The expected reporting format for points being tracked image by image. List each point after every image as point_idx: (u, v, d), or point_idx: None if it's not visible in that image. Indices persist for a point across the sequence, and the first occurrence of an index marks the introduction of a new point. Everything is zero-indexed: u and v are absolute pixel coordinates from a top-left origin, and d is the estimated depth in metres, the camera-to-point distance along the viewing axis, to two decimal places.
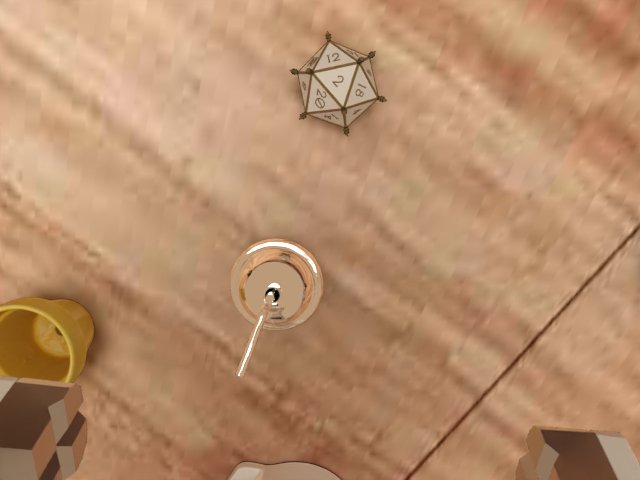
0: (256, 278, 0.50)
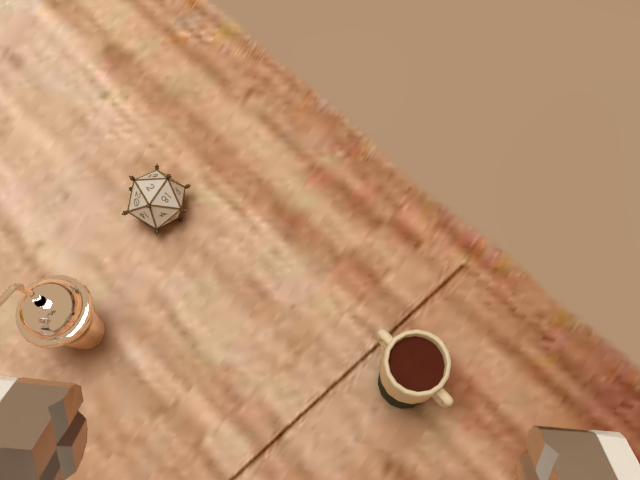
0: (33, 288, 0.65)
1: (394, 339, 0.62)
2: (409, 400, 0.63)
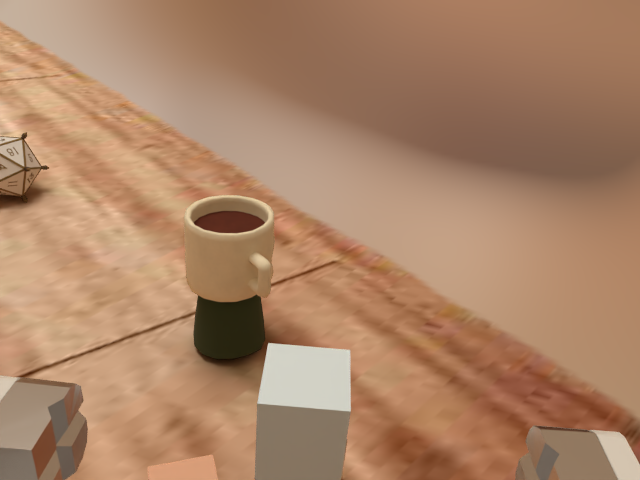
0: None
1: (207, 198, 0.49)
2: (213, 272, 0.45)
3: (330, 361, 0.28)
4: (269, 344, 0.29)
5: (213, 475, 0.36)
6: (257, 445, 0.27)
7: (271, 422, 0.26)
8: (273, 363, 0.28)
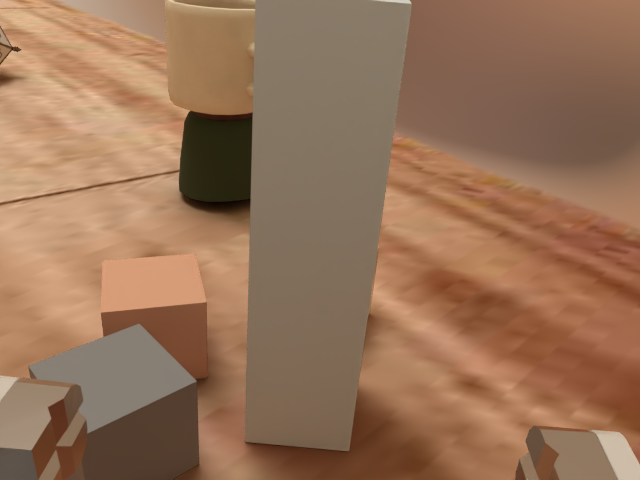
0: None
1: None
2: (201, 67, 0.35)
3: None
4: None
5: (194, 271, 0.26)
6: (255, 91, 0.16)
7: (279, 36, 0.16)
8: None
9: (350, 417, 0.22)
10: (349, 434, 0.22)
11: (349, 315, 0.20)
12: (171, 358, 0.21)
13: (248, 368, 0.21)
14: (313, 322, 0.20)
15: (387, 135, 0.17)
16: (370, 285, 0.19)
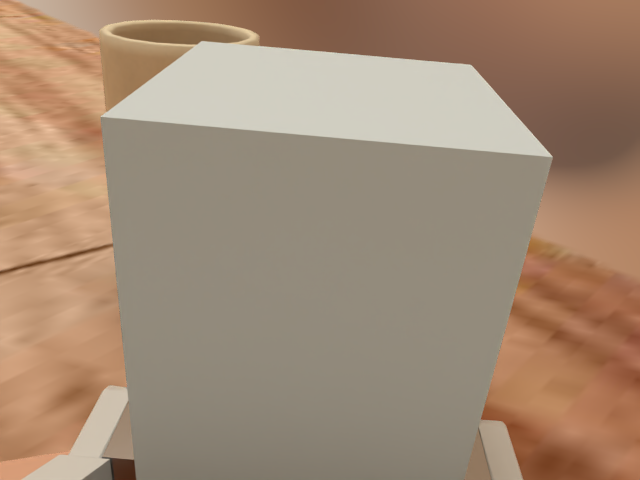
0: None
1: (148, 20, 0.29)
2: None
3: (413, 74, 0.08)
4: (206, 42, 0.09)
5: None
6: (130, 350, 0.06)
7: (178, 233, 0.06)
8: (209, 62, 0.08)
9: None
10: None
11: None
12: None
13: None
14: None
15: (459, 442, 0.07)
16: None
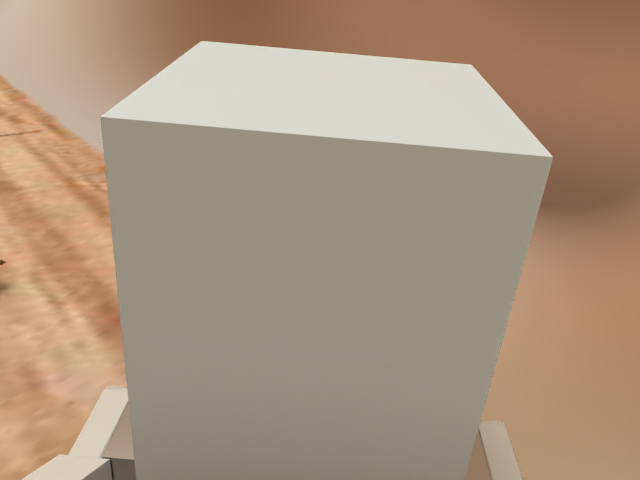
0: None
1: None
2: None
3: (413, 73, 0.08)
4: (205, 42, 0.09)
5: None
6: (129, 350, 0.06)
7: (177, 233, 0.06)
8: (209, 62, 0.07)
9: None
10: None
11: None
12: None
13: None
14: None
15: (459, 443, 0.07)
16: None
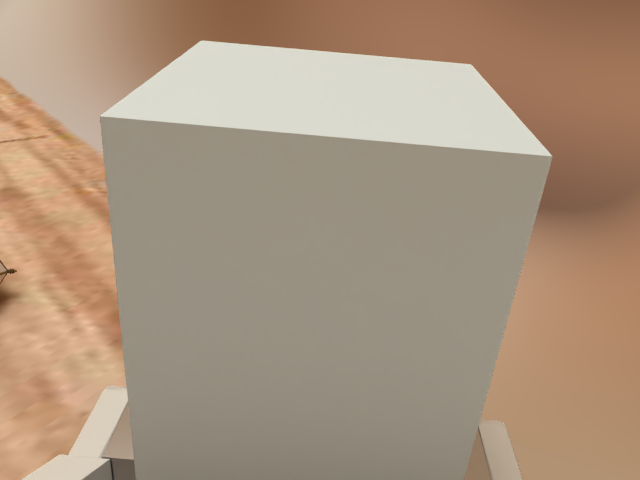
0: None
1: None
2: None
3: (412, 73, 0.08)
4: (205, 41, 0.09)
5: None
6: (129, 349, 0.06)
7: (177, 232, 0.06)
8: (208, 62, 0.07)
9: None
10: None
11: None
12: None
13: None
14: None
15: (459, 442, 0.07)
16: None
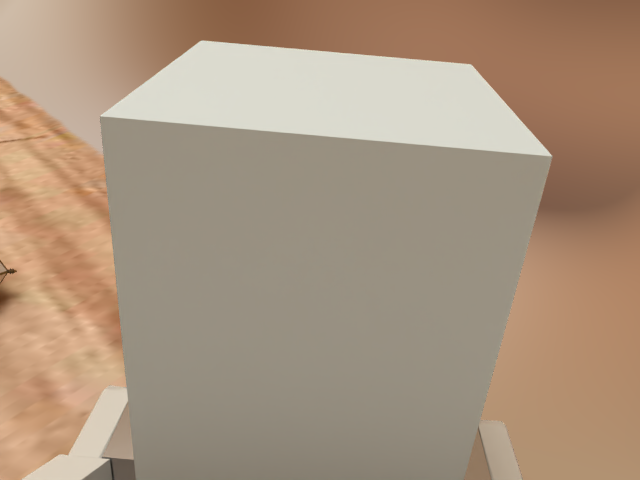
0: None
1: None
2: None
3: (412, 73, 0.08)
4: (205, 41, 0.09)
5: None
6: (129, 349, 0.06)
7: (177, 232, 0.06)
8: (208, 62, 0.07)
9: None
10: None
11: None
12: None
13: None
14: None
15: (459, 442, 0.07)
16: None
